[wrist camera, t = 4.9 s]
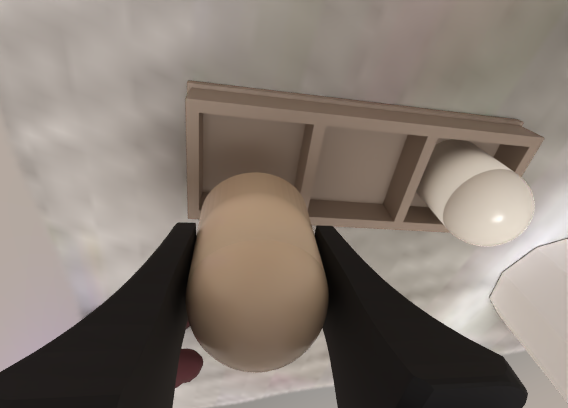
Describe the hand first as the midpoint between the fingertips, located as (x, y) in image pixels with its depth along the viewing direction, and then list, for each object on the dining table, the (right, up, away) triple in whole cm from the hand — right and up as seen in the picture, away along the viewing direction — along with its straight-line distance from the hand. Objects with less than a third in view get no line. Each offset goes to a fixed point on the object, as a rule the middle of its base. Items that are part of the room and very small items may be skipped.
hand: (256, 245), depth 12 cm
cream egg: (+11, +4, +9) cm, 15 cm away
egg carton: (+5, +4, +8) cm, 11 cm away
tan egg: (0, +1, +1) cm, 2 cm away
